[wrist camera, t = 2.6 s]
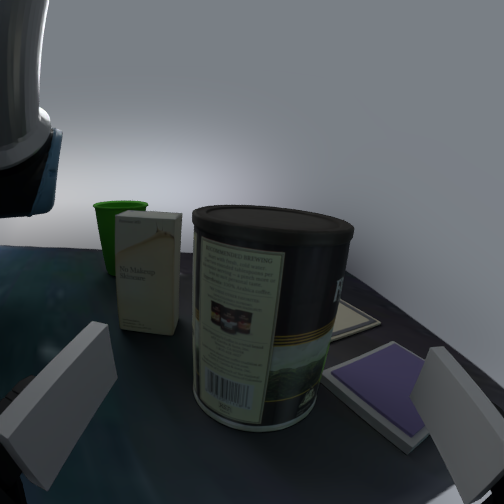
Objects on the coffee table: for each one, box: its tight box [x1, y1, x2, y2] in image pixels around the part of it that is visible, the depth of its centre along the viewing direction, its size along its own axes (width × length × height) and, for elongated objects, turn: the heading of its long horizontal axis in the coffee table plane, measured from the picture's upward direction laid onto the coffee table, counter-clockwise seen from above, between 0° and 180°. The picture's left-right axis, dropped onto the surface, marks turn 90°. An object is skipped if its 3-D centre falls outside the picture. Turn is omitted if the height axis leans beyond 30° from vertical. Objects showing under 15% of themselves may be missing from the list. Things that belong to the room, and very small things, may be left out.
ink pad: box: [320, 341, 430, 455], centre depth 22 cm, size 11×11×1 cm
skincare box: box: [115, 210, 182, 335], centre depth 29 cm, size 6×4×12 cm
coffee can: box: [192, 205, 354, 432], centre depth 21 cm, size 10×10×14 cm
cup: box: [93, 201, 148, 276], centre depth 43 cm, size 9×9×11 cm
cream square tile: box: [330, 299, 381, 342], centre depth 37 cm, size 14×14×1 cm
